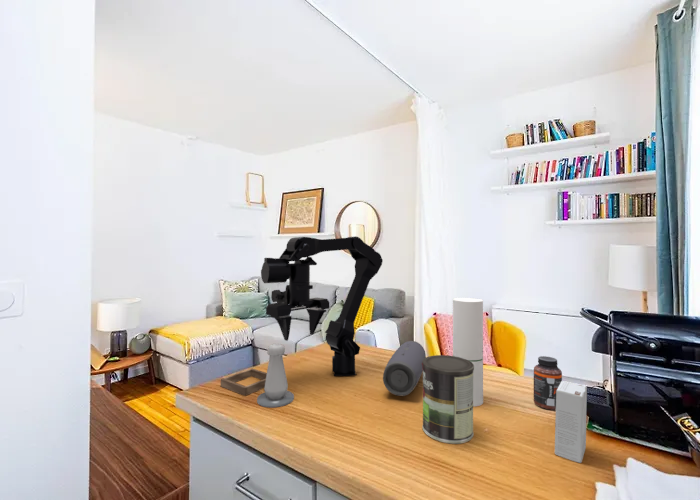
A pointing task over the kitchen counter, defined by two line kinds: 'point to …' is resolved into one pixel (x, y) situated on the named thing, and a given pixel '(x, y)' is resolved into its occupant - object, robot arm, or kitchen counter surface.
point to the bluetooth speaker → (404, 368)
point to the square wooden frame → (238, 388)
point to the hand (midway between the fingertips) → (299, 337)
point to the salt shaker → (275, 373)
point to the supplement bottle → (546, 382)
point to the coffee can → (448, 398)
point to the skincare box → (570, 421)
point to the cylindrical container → (470, 339)
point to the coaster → (267, 402)
